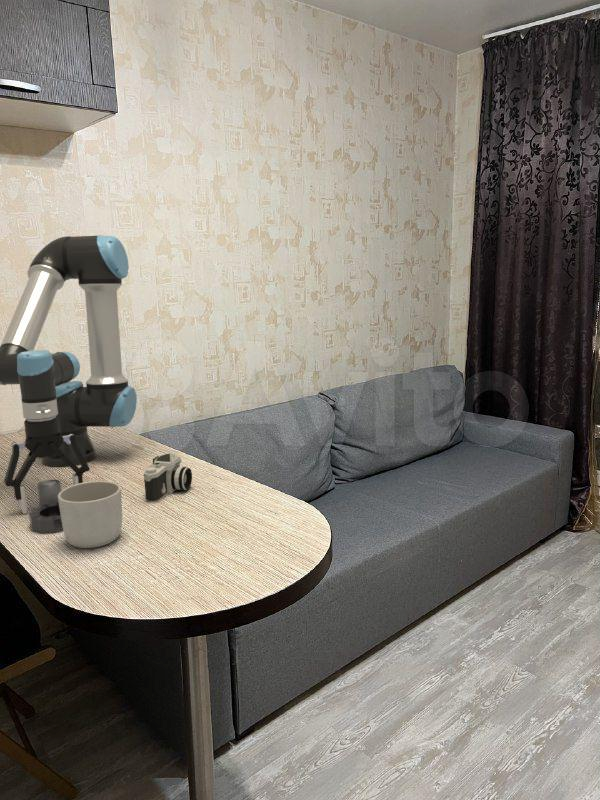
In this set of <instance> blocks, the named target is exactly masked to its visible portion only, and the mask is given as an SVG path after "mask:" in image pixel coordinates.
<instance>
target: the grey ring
mask: <svg viewBox="0 0 600 800" xmlns="http://www.w3.org/2000/svg"><path fill="white" fill-rule="evenodd" d="M28 516H29V517H28V518H29V525H30V528H31V530H32V532H34V533H38V534H42V535H44V534H57V533H61V532H64V531H63V527H62V521H61V515H60V508H59V502H55V503H51V504H46V505H43V506H40V505H39V506H38V507H36V508H34V509H32V510H31V512H30V513H29V514H28Z"/></svg>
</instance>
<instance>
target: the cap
mask: <svg viewBox="0 0 600 800" xmlns="http://www.w3.org/2000/svg"><path fill="white" fill-rule="evenodd" d="M61 486H62V485H61V481H60V480H59V479H47V480H43V481H40V482H39V483H37V489H38V491H37V492H38V498H39V499H38V500H39V507H40V506H43V505H46V504H51V503H55V502H58V494H59V493H60V492H61V491H62V487H61Z"/></svg>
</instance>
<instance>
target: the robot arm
mask: <svg viewBox="0 0 600 800" xmlns="http://www.w3.org/2000/svg"><path fill="white" fill-rule="evenodd" d="M129 268H130V267H129V257H128V254H127V251H126V249H125V246H124V245H123V243H122V241H121V240H119V238H117V237H116V236H112V235H102V234H100V235H99V234H98V235H82V236H81V235H78V236H69V235H68V236H61V237H58V238H56V239H54V240H52V241H50V242H49V243H48V244H46V245H45V246H44V247H43V248H42V249H41V250H40V251H38V253H37V254H36V255H35V256H34V258H33V260H32V261H31V262H30V265H29V267H28V270H27V273H26V274H27V276H28V280H27V282H26V285H25V287H24V289H23V293H22V295H21V297H20V299H19V301H18V304H17V306H16V309H15V311H14V313H13V316H12V318H11V320H10V323H9V326H8V328H7V330H6V332H5V335H4V337H3V339H2V342H1V344H0V385H2V386H6V385H19V390H20V397H21V408H22V415H23V419H24V432H25V441H23V442H16V441H15V442H12V443H11V450H12V451H11V456H10V460H9V462H8V466H7V468H6V469H7V470H6V473H5V477H4V480H3V482H4V484H5V486H6V487H13V493H14V498H15V499H16V500H17V501H20V506H21V511H22V514H24V515H25V514H28V511H27V502H26V494H25V487H24V484H23V481H24V479H25V478H26V476H27V474H28V472H29V471H30V469H31V467H32V465H34V463H35V461H36V460H37V458H38V459H41V461H42V462H41V463H42V465H43V466H45V467H48V468H70V469H71V470H72V471H73V472H74V473H71V474H72V485H75V484H79V483H84V482H83V481H84V480H83V475H84V473H86V472H89V471H90V470H91V469H90V466H89V464H88V463H90V462H92V461H94V460H95V459H96V458H97V453H96V448H95V445H94V444H93V442H92V439H91V437H90V435H89V432H88V427H93V428H94V427H95V428H97V427H99V428H100V427H101V428H102V427H103V428H106V427H107V428H108V427H109V428H115V427H118V428H119V427H126V426H128V425H129V424H130V423H131V422H132V421H133V419H134V417H135V413H136V410H137V403H138V402H137V399H138V396H137V395H138V394H137V392H136V389H135V387H132V386H129V379H128V378H126V376H124V374H123V370H122V369H123V367H122V349H121V339H120V338H121V337H120V334H121V333H120V321H119V320H120V318H119V305H118V303H119V302H118V290H119V289H120V288H121V286H123V281H122V280H123V279H125V278H126V277H127V276H128V274H129ZM68 280H78V286H79V287H80V288H81V289H82V291H84V295H85V296H84V297H85V298H84V299H85V307H86V309H85V310H86V321H87V322H86V323H87V325H86V326H87V337H88V338H87V339H88V350H89V362H90V363H89V365H90V377H89V378H88V379H87V381H85V385H86V386H84V383H83V381H82V380H81V381H80V380H77V381H76V380H74V379H76V378H77V377H78V375H79V373H80V371H81V364H80V362H79V361H80V360H79V359H78V357H77V356H76V355H75V354H73V353H71V352H69V351H57V352H54V353H52V352H51V351H50V350H47V349H46V350H45V349H36V350H35V347H36V345H37V342H38V341H39V337H40V336H41V332H42V330H43V327H44V325H45V321H46V319H47V316H48V315H49V311H50V309H51V307H52V305H53V301H54V299H55V296H56V295H57V291H58V290H60V289H61V290H62V288H63V286H64V284H65V283H66V281H68ZM72 380H73V381H72ZM24 448H26V449H27V450H28V451H29V452H28V453H27V456H26V459H25V460H24V462H23V464H22V465H21V466H20V469H19V470H18V472H17V473H15V472H16V468H17V466H18V462H19V459H20V453H22V452H23V451H24ZM78 466H80V467H78ZM15 474H16V476H15ZM14 476H15V477H14Z"/></svg>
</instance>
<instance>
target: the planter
mask: <svg viewBox="0 0 600 800" xmlns="http://www.w3.org/2000/svg"><path fill="white" fill-rule="evenodd" d="M58 502H59V508H60V515H61V521H62V527H63V531H62V532H63V534H64V537H65V539H66V541H67V543H68V544H69V545H72V546H73V547H75V548H79V549H94V548H99V547H103V546H106V545H109V544H111V543H112V542H114V541H115V540H117V538H118V537H119V536H120V534H121V532H122V529H123V528H122V526H123V503H122V488H121V486H120V484H118V483H116V482H113V481H108V480H107V481H106V480H93V481H84V482H83V483H79V484H75V485H73V484H72V485H70V486H68V487H65V488H63V489H61V492H60V493H59V494H58Z"/></svg>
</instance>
